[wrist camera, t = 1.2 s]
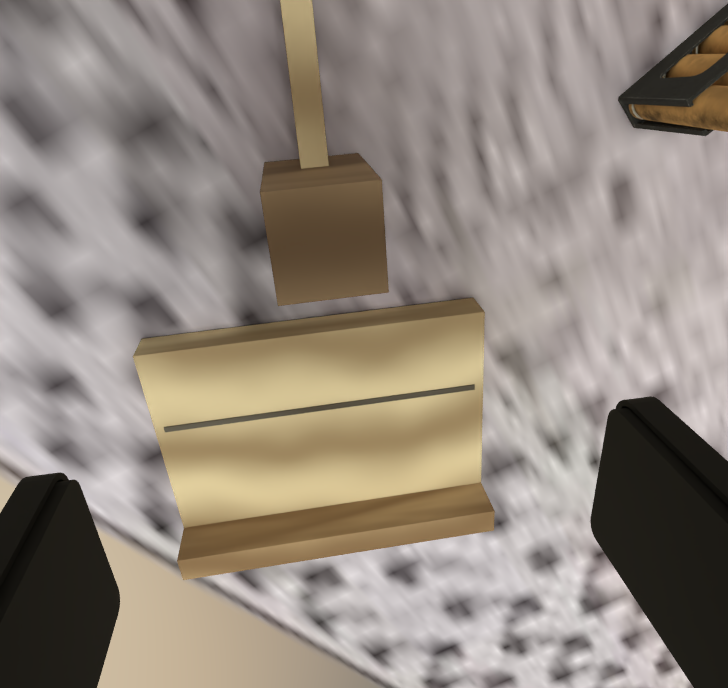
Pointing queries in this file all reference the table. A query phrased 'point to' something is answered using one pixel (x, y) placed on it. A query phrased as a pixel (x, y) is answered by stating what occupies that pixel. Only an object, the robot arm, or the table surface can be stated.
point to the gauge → (320, 194)
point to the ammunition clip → (686, 85)
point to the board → (321, 434)
